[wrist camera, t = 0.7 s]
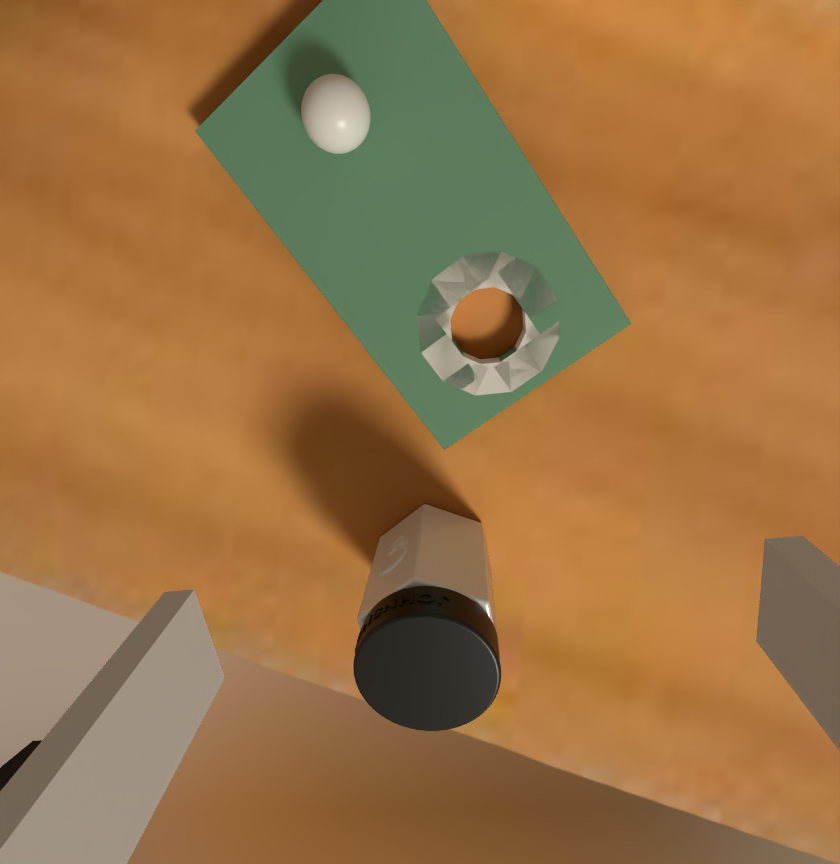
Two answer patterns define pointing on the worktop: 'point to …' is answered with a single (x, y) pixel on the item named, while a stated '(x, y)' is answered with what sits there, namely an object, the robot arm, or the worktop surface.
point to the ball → (335, 113)
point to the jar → (429, 624)
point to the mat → (413, 210)
